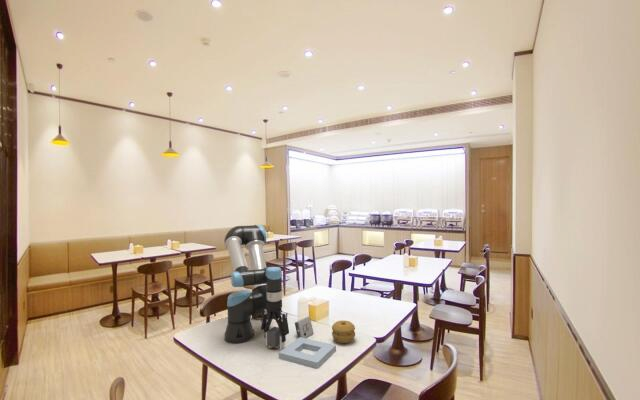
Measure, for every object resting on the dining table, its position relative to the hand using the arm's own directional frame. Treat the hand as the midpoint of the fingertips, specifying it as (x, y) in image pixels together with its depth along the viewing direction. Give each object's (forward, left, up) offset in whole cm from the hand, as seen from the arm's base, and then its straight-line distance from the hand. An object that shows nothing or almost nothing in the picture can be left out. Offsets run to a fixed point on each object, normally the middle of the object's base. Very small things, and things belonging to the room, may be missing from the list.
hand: (275, 346), depth 149 cm
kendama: (-31, +29, -1) cm, 43 cm away
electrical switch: (+6, +17, -1) cm, 18 cm away
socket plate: (+18, +1, 0) cm, 18 cm away
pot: (+27, +21, -1) cm, 34 cm away
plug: (0, 0, 0) cm, 0 cm away
